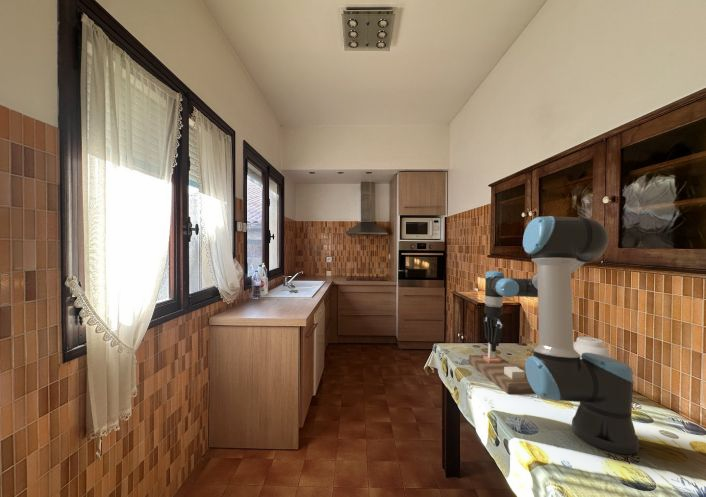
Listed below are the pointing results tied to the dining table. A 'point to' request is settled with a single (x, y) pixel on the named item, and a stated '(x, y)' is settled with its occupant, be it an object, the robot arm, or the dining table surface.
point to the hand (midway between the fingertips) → (491, 357)
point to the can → (590, 346)
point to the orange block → (491, 359)
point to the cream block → (514, 372)
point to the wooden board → (500, 375)
